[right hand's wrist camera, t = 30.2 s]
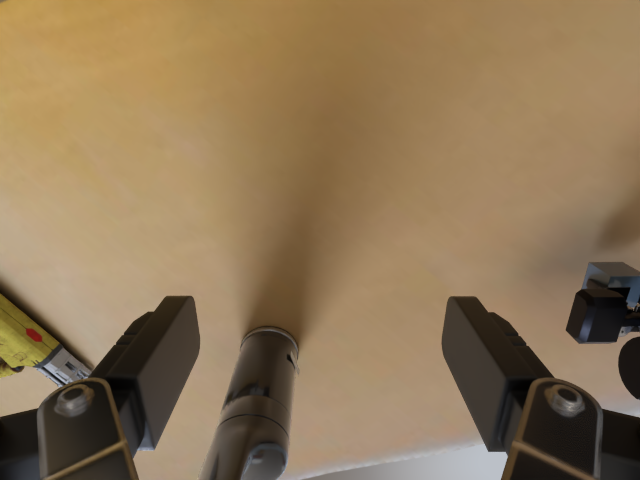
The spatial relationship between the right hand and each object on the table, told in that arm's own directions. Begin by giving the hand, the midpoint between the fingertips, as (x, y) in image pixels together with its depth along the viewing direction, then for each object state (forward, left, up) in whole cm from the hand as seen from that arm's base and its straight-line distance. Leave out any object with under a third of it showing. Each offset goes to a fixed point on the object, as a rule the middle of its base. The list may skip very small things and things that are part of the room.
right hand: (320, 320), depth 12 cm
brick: (-5, -42, -35) cm, 55 cm away
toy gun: (-44, +40, -39) cm, 71 cm away
